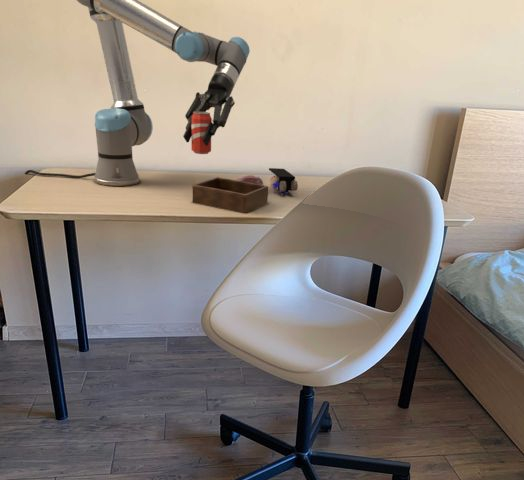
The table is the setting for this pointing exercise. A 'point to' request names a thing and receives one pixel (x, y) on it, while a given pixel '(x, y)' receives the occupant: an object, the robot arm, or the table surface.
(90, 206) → the table surface
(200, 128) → the beverage can
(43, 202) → the table surface
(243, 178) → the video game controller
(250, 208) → the brown wooden box
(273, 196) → the table surface
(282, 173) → the figurine character
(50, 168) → the table surface
